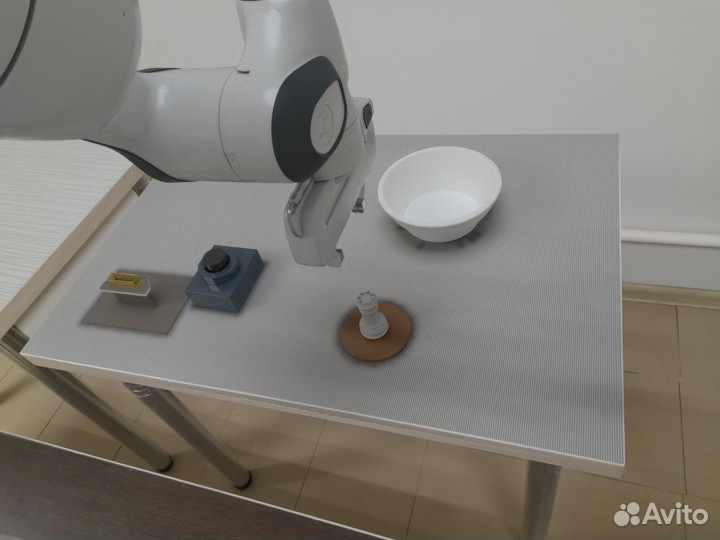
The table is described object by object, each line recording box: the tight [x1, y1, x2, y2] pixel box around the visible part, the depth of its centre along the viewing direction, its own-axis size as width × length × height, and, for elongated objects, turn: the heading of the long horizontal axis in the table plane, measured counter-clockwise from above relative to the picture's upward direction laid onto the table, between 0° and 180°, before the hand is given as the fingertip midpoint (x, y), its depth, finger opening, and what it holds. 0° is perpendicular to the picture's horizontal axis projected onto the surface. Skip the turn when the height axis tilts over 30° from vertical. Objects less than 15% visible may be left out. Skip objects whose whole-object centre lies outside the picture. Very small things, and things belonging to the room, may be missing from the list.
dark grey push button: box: [201, 248, 229, 273], centre depth 89 cm, size 4×4×2 cm
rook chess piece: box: [355, 289, 388, 339], centre depth 78 cm, size 4×4×8 cm
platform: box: [83, 271, 192, 334], centre depth 93 cm, size 12×18×7 cm, turn 75°
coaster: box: [340, 300, 412, 363], centre depth 81 cm, size 11×11×1 cm
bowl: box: [376, 145, 503, 243], centre depth 92 cm, size 21×21×8 cm
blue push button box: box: [185, 244, 265, 314], centre depth 91 cm, size 11×9×6 cm
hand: (348, 234), depth 65 cm, fingers open, 8 cm apart
